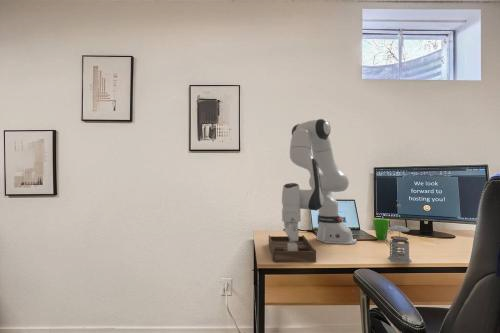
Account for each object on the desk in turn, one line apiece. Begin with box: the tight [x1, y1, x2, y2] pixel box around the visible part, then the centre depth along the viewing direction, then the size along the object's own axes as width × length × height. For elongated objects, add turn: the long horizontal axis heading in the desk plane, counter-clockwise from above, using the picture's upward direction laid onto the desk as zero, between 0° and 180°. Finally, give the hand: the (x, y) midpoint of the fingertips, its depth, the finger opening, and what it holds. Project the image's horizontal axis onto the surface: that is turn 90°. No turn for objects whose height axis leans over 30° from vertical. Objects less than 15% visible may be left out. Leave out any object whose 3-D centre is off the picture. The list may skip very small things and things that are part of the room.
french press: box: [384, 203, 413, 264], centre depth 131 cm, size 10×12×25 cm
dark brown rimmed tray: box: [268, 235, 317, 263], centre depth 142 cm, size 30×19×5 cm, turn 0°
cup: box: [372, 218, 390, 241], centre depth 169 cm, size 9×9×11 cm
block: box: [287, 243, 297, 251], centre depth 133 cm, size 4×4×4 cm
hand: (291, 246), depth 138 cm, fingers closed
